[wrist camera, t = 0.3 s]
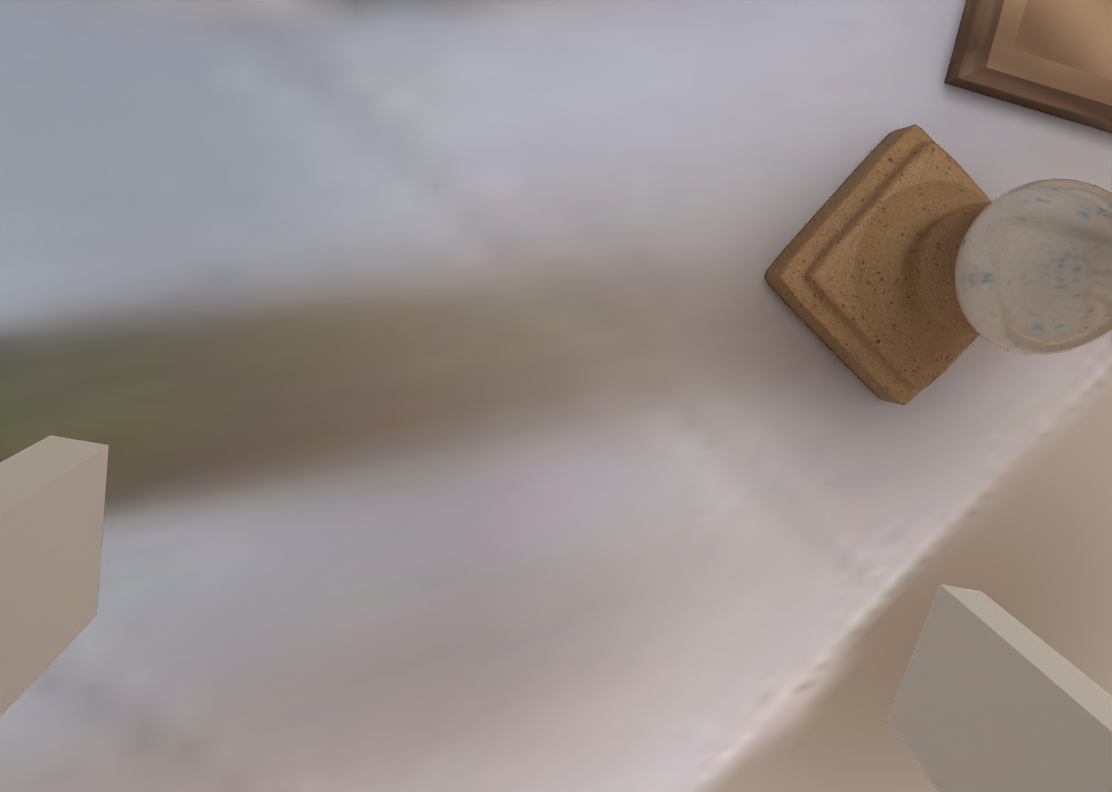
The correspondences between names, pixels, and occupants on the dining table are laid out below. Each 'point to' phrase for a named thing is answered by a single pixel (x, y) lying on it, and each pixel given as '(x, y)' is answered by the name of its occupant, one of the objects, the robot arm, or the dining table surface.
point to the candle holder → (946, 266)
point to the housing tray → (1039, 56)
